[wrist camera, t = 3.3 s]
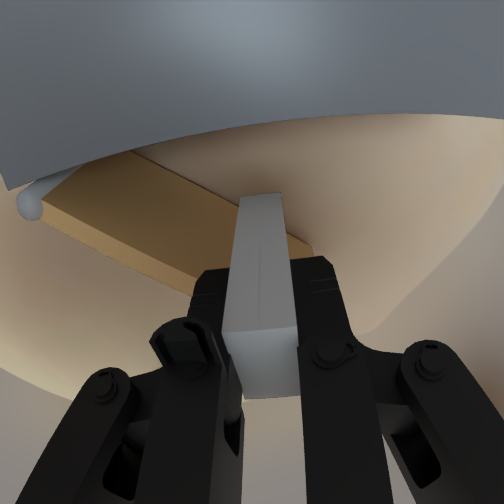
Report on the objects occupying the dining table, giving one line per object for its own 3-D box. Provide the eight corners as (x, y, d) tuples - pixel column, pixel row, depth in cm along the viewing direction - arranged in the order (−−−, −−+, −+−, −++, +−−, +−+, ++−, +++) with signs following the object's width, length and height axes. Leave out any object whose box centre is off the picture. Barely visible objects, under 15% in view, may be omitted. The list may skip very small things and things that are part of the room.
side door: (91, 159, 18) (14, 223, 11) (100, 132, 17) (18, 186, 10) (296, 263, 22) (311, 361, 15) (313, 243, 21) (337, 339, 14)
